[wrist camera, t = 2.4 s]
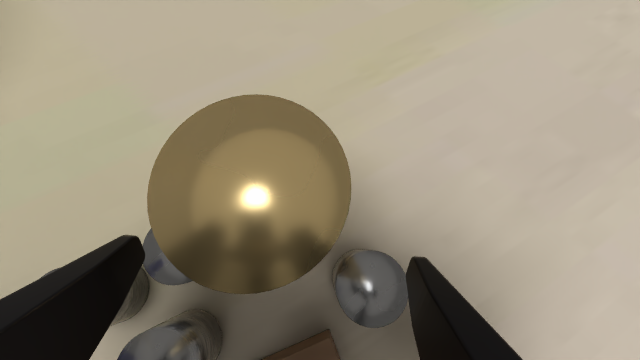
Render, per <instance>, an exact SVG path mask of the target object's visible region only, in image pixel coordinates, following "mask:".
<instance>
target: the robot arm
mask: <svg viewBox="0 0 640 360" xmlns="http://www.w3.org/2000/svg"><path fill="white" fill-rule="evenodd" d="M144 260H145V251H144V249H143V246H142V244H141V241H140V239H139V238H138V237H137V236H133V235H123V236H120V237H118V238H117V239H115V240H113V241H111V242H109V243H107V244H105V245H103V246H101V247H99V248H98V249H96V250H94V251H92V252H90V253H88V254H86V255H84V256H82V257H80V258H78V259H77V260H75V261H73V262H71V263H69V264H67V265H65V266H63V267H61V268H59V269H58V270H56V271H54V272H52V273H50V274H48V275H46V276H44V277H42V278H40V279H38V280H37V281H35V282H33V283H31V284H29V285H27V286H25V287H23V288H21V289H19V290H18V291H16V292H14V293H12V294H10V295H8V296H6V297H4V298H2V299H0V360H89V359H90V357H91V356H92V354H93V352H94V351H95V349H96V348H97V346H98V344H99V343H100V341H101V339H102V338H103V336H104V334H105V333H106V331H107V330H108V328H109V326H110V325H111V323H112V321H113V320H114V318H115V316H116V315H117V313H118V312H119V310H120V308H121V306H122V305H123V303H124V301H125V299H126V297H127V295H128V293H129V291H130V289H131V287H132V285H133V283H134V281H135V279H136V277H137V275H138V272H139V270H140V268H141V266H142V264H143V262H144ZM406 284H407V291H408V299H409V306H410V314H411V321H412V327H413V332H414V336H415V340H416V344H417V348H418V352H419V356H420V360H523V359H522V358H521V357H520V356H519V355H518V354H517V353H516V352H515V351H514V350H513V349H512V348H511V347H510V346H509V345H508V344H507V342H506V341H505V340H504V339H503V338H502V337H501V336H500V335H499V334H498V333H497V332H496V331H495V330H494V329H493V328H492V327H491V326H490V325H489V324H488V322H487V321H486V320H485V319H484V318H483V317H482V316H481V315H480V314H479V313H478V312H477V311H476V310H475V309H474V308H473V307H472V306H471V305H470V304H469V302H468V301H467V300H466V299H465V298H464V297H463V296H462V295H461V294H460V293H459V292H458V291H457V290H456V289H455V288H454V287H453V286H452V285H451V284H450V282H449V281H448V280H447V279H446V278H445V277H444V276H443V275H442V274H441V273H440V272H439V271H438V270H437V269H436V268H435V267H434V266H433V265H432V264H431V262H430V261H429V260H428V259H427V258H425V257H416V256H414V257H412V258H411V260H410V263H409V266H408V269H407V272H406Z"/></svg>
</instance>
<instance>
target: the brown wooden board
mask: <svg viewBox="0 0 640 360" xmlns="http://www.w3.org/2000/svg"><path fill="white" fill-rule="evenodd" d="M261 360H340V357H339V354H338V351H337V349H336V346H335V343H334V341H333V338H332V335H331V333H330V330H329V329H328V330H326V331H324V332H322V333H319V334H317V335H315V336H313V337H310V338H308V339H306V340H304V341H301V342H299V343H297V344H295V345H293V346H290V347H288V348H286V349H284V350H281V351H279V352H277V353H275V354H272V355H270V356H268V357H266V358H263V359H261Z"/></svg>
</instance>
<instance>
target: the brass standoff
mask: <svg viewBox="0 0 640 360" xmlns="http://www.w3.org/2000/svg"><path fill="white" fill-rule="evenodd" d="M350 200H351V178H350V171H349V166H348V162H347V159H346V156H345V153H344V151H343V149H342V147H341V145H340V143H339V141H338V139H337V138H336V136H335V135H334V133H333V132H332V131H331V129H330V128H329V127H328V126H327V125H326V124H325V123H324V122H323V121H322V120H321V119H320V118H319V117H318V116H316V115H315V114H314V113H313V112H311V111H309V110H308V109H306V108H305V107H303V106H301V105H299V104H297V103H295V102H292V101H289V100H286V99H283V98H280V97H275V96H269V95H242V96H236V97H231V98H228V99H224V100H221V101H218V102H216V103H213V104H211V105H209V106H207V107H205V108H203V109H201V110H200V111H198V112H196V113H195V114H194V115H192V116H191V117H189V118H188V119H187V120H186V121H185V122H183V123H182V124H181V125H180V126H179V127H178V128H177V129H176V130H175V131H174V133H173V134H172V135H171V136H170V137H169V139H168V140H167V141H166V143H165V144H164V146H163V147H162V149H161V151H160V153H159V155H158V157H157V159H156V161H155V164H154V166H153V169H152V172H151V176H150V180H149V185H148V195H147V204H148V215H149V221H150V225H151V228H152V231H153V234H154V237H155V239H156V241H157V243H158V245H159V247H160V249H161V250H162V252H163V253H164V255H165V256H166V257H167V259H168V260H169V261H170V262H171V263H172V264H173V265H174V266H175V267H176V269H178V270H179V271H180V272H181V273H183V274H184V275H185V276H186V277H188V278H189V279H191V280H193V281H195V282H196V283H198V284H200V285H202V286H205V287H208V288H210V289H213V290H217V291H221V292H225V293H234V294H252V293H260V292H265V291H270V290H273V289H276V288H279V287H282V286H285V285H287V284H289V283H291V282H293V281H295V280H297V279H298V278H300V277H301V276H303V275H304V274H306V273H307V272H309V271H310V270H311V269H312V268H313V267H315V266H316V265H317V264H318V263H319V262H320V261H321V260H322V259H323V258H324V257H325V255H326V254H327V253H328V252H329V251H330V250H331V248H332V246H333V245H334V243H335V242H336V240H337V239H338V237H339V235H340V233H341V231H342V229H343V226H344V224H345V221H346V218H347V215H348V211H349V205H350Z"/></svg>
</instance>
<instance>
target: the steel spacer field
mask: <svg viewBox="0 0 640 360" xmlns="http://www.w3.org/2000/svg"><path fill="white" fill-rule="evenodd" d="M143 249H144V251H145V260H144V262H143V264H144V267H145V269H146V271H147V272H148V274H149V275H150V276H151V277H152V278H153V279H154V280H156V281H158V282H160V283H162V284H166V285H180V284H184V283H188V282H191V281H193V280H191V279H189V278H188V277H186V276H185V275H184V274H183V273H181V272H180V271H179V270H178V269H176V267H175V266H174V265H173V264H172V263H171V262H170V261H169V260H168V259H167V257H166V256H165V255H164V253H163V252H162V250H161V249H160V247H159V245H158V243H157V241H156V239H155V237H154V234H153V231H152V228H151V229H150V231H149V232H148V234H147V236H146V238H145V240H144V243H143ZM58 269H59V268H57V269H54V270H52V271H50V272H48V273H47V274H45V275H44V276H46V275H48V274H50V273H52V272H54V271H56V270H58ZM44 276H42V277H44ZM42 277H41V278H42ZM332 279H333V286H334V289H335V292H336V295H337V298H338V301H339V304H340V306H341V308H342V309H343V311H344V312H345V314H346V315H347V316H348V317H349V318H350V319H351V320H353V321H354V322H356V323H357V324H359V325H362V326H365V327H369V328H379V327H384V326H386V325H389V324H390V323H392V322H394V321H395V320H396V319H397V318H398V317H399V316H400V315H401V314H402V312H403V310H404V309H405V306H406V304H407V300H408V291H407V284H406V275H405V273H404V271H403V269H402V268H401V266H400V265H399V264H398V263H397V262H396V261H395V260H394V259H393V258H392V257H390V256H389V255H387V254H385V253H382V252H378V251H372V250H363V249H356V250H351V251H349V252H347V253H345V254H344V255H342V256H341V257H340V258H339V260H338V261H337V263H336V265H335V267H334V270H333V277H332ZM148 291H149V283H148V278H147V275H146V273H145V272H144V270H143V269H142V268H140V270H139V272H138V275H137V277H136V279H135V281H134V283H133V285H132V287H131V289H130V291H129V293H128V295H127V297H126V299H125V301H124V303H123V305H122V306H121V308H120V310H119V312H118V313H117V315H116V316H115V318H114V320H113V321H112V323H111V325H110V326H112V325H115V324H117V323H120V322H122V321H125V320H127V319H129V318H131V317H132V316H134V315H135V314H136V313H137V312H138V311H139V310H140V309H141V308H142V306H143V305H144V303H145V301H146V299H147V296H148ZM221 345H222V332H221V328H220V325H219V323H218V322H217V320H216V319H215V318H214V317H213V316H212V315H211V314H210V313H208V312H206V311H204V310H198V309H193V310H188V311H185V312H183V313H181V314H179V315H177V316H175V317H173V318H171V319H169V320H167V321H165V322H163V323H161V324H159V325H157V326H155V327H153V328H151V329H149V330H147V331H145V332H143V333H141V334H139V335H137V336H136V337H134V338H133V339H132V340H131V341H130V342H129V343H128V344H127V345H126V346H125V347H124V349H123V350H122V352H121V353H120V355H119V357H118V359H117V360H216V358H217V356H218V355H219V352H220V349H221Z"/></svg>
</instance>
